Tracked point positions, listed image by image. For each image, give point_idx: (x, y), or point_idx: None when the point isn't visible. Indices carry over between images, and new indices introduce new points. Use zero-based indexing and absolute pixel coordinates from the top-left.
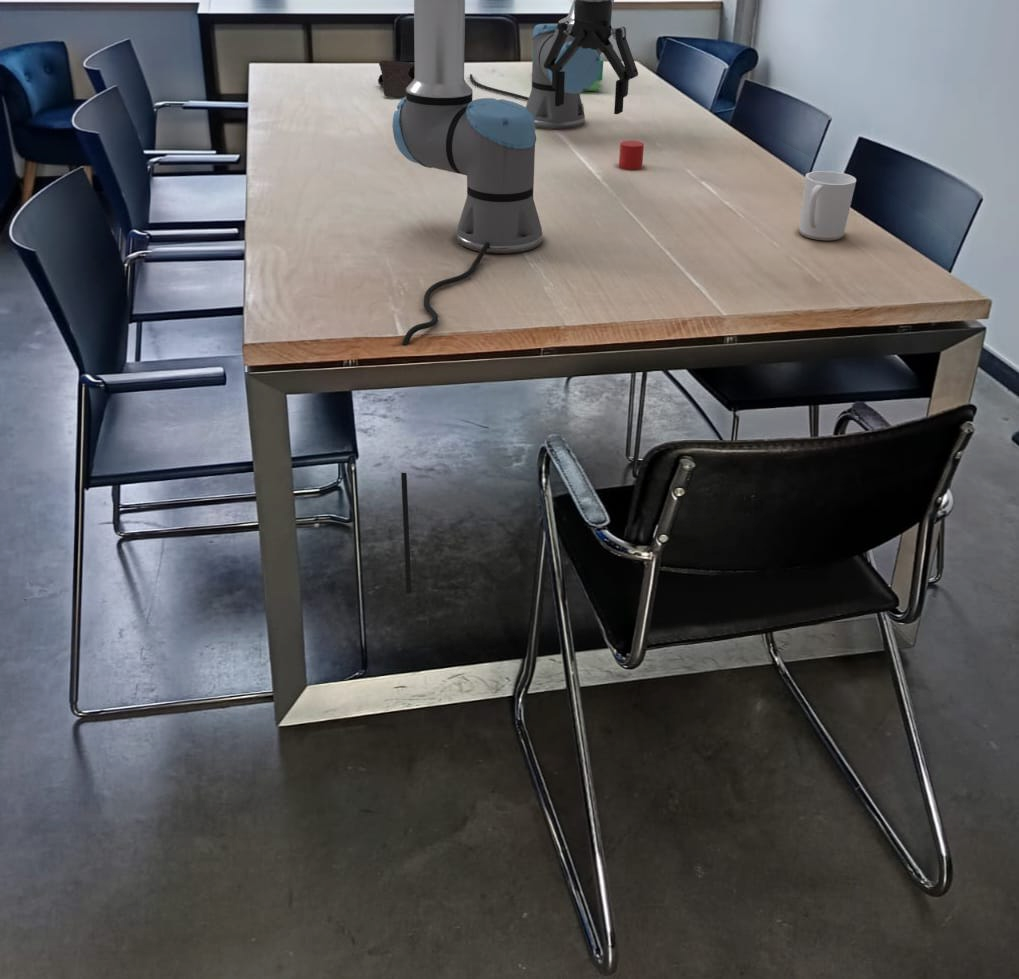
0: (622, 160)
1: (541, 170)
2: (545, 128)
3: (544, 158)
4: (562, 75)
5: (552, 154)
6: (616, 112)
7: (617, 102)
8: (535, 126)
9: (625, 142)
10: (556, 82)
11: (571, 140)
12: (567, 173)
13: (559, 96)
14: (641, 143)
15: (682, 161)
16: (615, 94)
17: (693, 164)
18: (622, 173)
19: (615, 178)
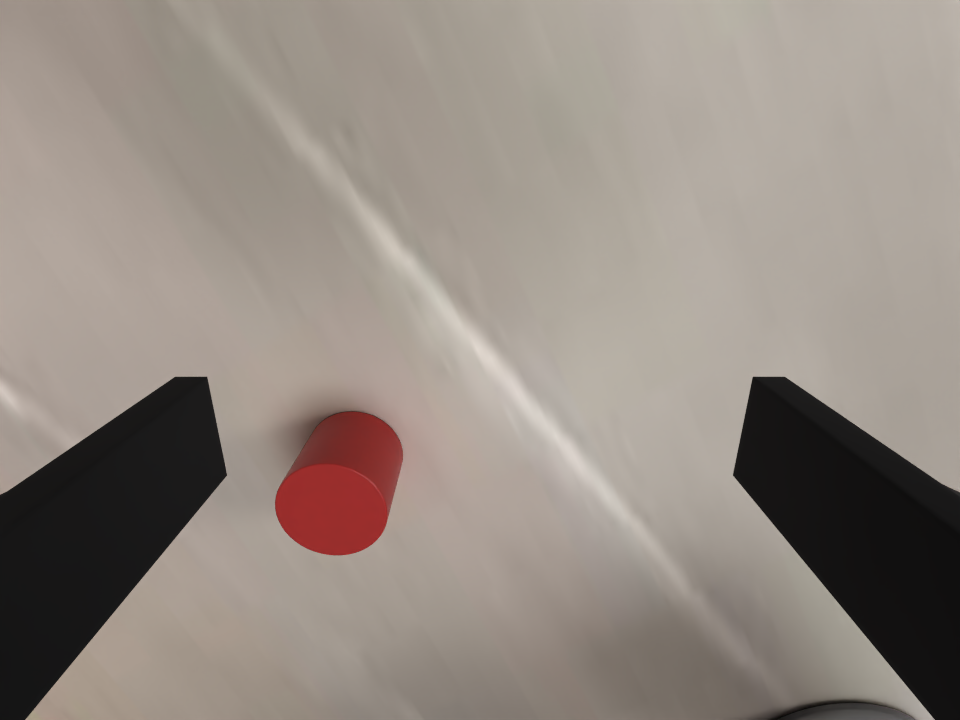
0: (364, 430)
1: (666, 203)
2: (832, 704)
3: (717, 386)
4: (946, 649)
5: (705, 453)
6: (177, 383)
7: (115, 424)
8: (873, 706)
9: (365, 512)
10: (951, 501)
11: (699, 637)
12: (538, 224)
13: (795, 434)
14: (296, 531)
15: (240, 597)
16: (87, 467)
17: (189, 584)
18: (334, 354)
19: (318, 268)
